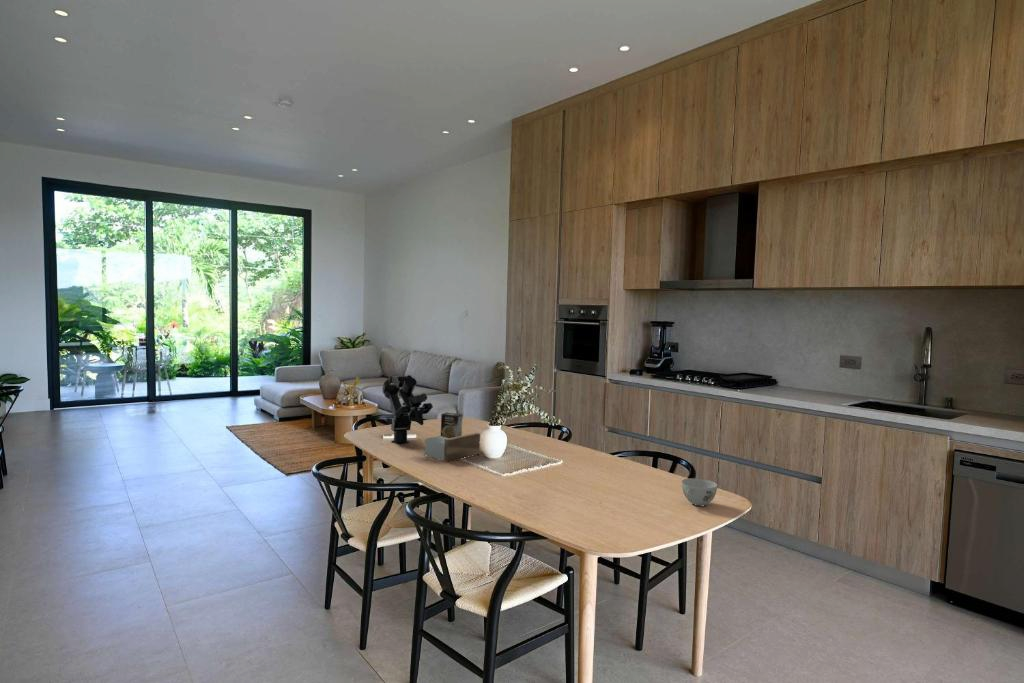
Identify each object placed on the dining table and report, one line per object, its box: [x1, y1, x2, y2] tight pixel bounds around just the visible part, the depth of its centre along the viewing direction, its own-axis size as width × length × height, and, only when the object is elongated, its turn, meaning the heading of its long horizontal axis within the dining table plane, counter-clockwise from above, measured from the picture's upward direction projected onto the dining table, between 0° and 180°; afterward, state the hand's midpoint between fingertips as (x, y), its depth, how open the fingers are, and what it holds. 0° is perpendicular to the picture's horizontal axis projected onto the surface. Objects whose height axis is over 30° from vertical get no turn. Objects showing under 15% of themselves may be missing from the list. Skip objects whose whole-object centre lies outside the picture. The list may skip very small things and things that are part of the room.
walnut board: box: [443, 432, 481, 463], centre depth 256 cm, size 2×20×10 cm, turn 139°
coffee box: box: [440, 411, 464, 438], centre depth 278 cm, size 9×6×16 cm
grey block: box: [424, 435, 448, 462], centre depth 257 cm, size 13×9×8 cm
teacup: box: [681, 477, 718, 506], centre depth 205 cm, size 15×12×8 cm
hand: (422, 424), depth 266 cm, fingers closed
